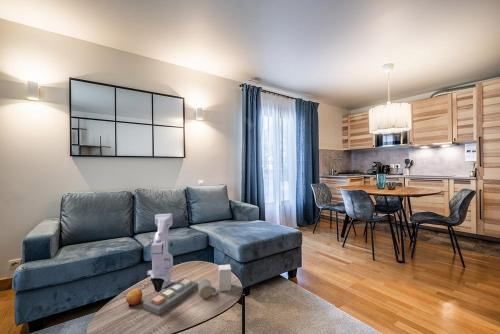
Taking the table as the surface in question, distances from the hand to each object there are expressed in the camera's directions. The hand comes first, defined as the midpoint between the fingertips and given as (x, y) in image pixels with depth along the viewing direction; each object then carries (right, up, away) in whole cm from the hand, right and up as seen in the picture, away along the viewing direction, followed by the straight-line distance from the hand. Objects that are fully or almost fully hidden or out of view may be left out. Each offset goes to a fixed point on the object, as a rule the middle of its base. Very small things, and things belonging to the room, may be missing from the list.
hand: (158, 291), depth 121 cm
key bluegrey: (+6, -6, +12) cm, 14 cm away
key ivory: (+9, -6, +17) cm, 20 cm away
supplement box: (+33, -8, +19) cm, 39 cm away
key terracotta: (0, -6, 0) cm, 6 cm away
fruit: (-14, -9, +4) cm, 17 cm away
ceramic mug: (+24, -9, +12) cm, 28 cm away
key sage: (+3, -6, +6) cm, 9 cm away
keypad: (+5, -8, +9) cm, 13 cm away
